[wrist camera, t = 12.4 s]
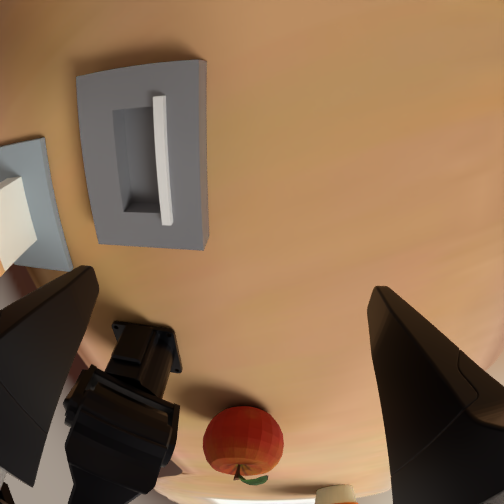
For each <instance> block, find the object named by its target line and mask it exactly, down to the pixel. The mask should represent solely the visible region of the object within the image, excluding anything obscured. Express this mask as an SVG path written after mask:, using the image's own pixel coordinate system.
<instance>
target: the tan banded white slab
mask: <svg viewBox="0 0 504 504" xmlns="http://www.w3.org/2000/svg"><path fill="white" fill-rule="evenodd" d="M35 241H37V237H36V234H35V230H34V227H33V223H32V220H31V216H30V212H29V208H28V204H27V200H26V196H25V191H24V187H23V182H22V177H13V178H7V179H5V180H4V181H2V182H0V277H1V276H2V275H3V273H4V272H5V271H6V270H7V269H8V268H9V267H10V266H11V265H12V264H13V263H14V262H15V261H16V260H17V259H18V258H19V257H20V256H21V255H22V254H23V253H24V252H25V251H26V250H27V249H28V248H29V247H30V246H31V245H32V244H33V243H34V242H35Z"/></svg>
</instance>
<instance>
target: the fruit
mask: <svg viewBox="0 0 504 504" xmlns="http://www.w3.org/2000/svg"><path fill="white" fill-rule="evenodd" d="M283 447H284V441H283V434H282V431H281V429H280V427H279V425H278V424H277V422H276V421H275V420H274V418H273V417H272V416H271V415H270V414H268V413H267V412H265V411H263V410H261V409H258V408H255V407H250V406H237V407H231V408H228V409H225V410H223V411H222V412H220V413H219V414H218V415H216V416H215V417H214V418H213V419H212V420H211V422H210V423H209V425H208V427H207V429H206V432H205V434H204V437H203V450H204V454H205V457H206V460H207V462H208V463H209V464H210V465H211V467H212V468H214V469H215V470H216V471H219V472H222V473H226V474H231V475H235V476H234V480H239V479H240V480H241V481H242V482H244V483H246V484H249V485H259V484H263V483H265V482H266V481H267V480H268V476H267V475H266V476H262V477H259V478H257V479H250V480H246V479H245V478H243V477H242V476H248V475H258V474H264V473H267V472H269V471H270V470H272V469H273V468H274V467H275V466H276V465H277V464H278V462H279V460H280V458H281V456H282V453H283ZM241 475H242V476H241Z"/></svg>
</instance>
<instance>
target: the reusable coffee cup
mask: <svg viewBox="0 0 504 504" xmlns="http://www.w3.org/2000/svg"><path fill="white" fill-rule="evenodd" d="M315 504H358V503H357V502H356V498H355V494H354V489H353V486H351V485H336V486H329V487H324V488H321V489H318V490H317V492H316V499H315Z"/></svg>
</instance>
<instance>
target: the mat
mask: <svg viewBox="0 0 504 504" xmlns="http://www.w3.org/2000/svg"><path fill="white" fill-rule="evenodd" d="M13 177H22V182H23V187H24V191H25V196H26V200H27V204H28V208H29V212H30V216H31V220H32V223H33V227H34V230H35V234H36V237H37V241H35V242H34V243H33V244H32V245H31V246H30V247H29V248H28V249H27V250H26V251H25V252H24V253H23V254H22V255H21V256H20V257H19V258H18V259H17V260H16V261H15V262H14V264H15V265H22V266H28V267H36V268H43V269H51V270H59V271H67V272H70V271H72V269H73V265H72V261H71V258H70V255H69V251H68V248H67V244H66V241H65V237H64V233H63V229H62V226H61V222H60V218H59V213H58V209H57V205H56V200H55V195H54V191H53V186H52V180H51V175H50V169H49V163H48V157H47V151H46V144H45V137H43V138H38V139H32V140H27V141H22V142H18V143H13V144H9V145H4V146H0V182H2V181H4V180H5V179H7V178H13Z"/></svg>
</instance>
